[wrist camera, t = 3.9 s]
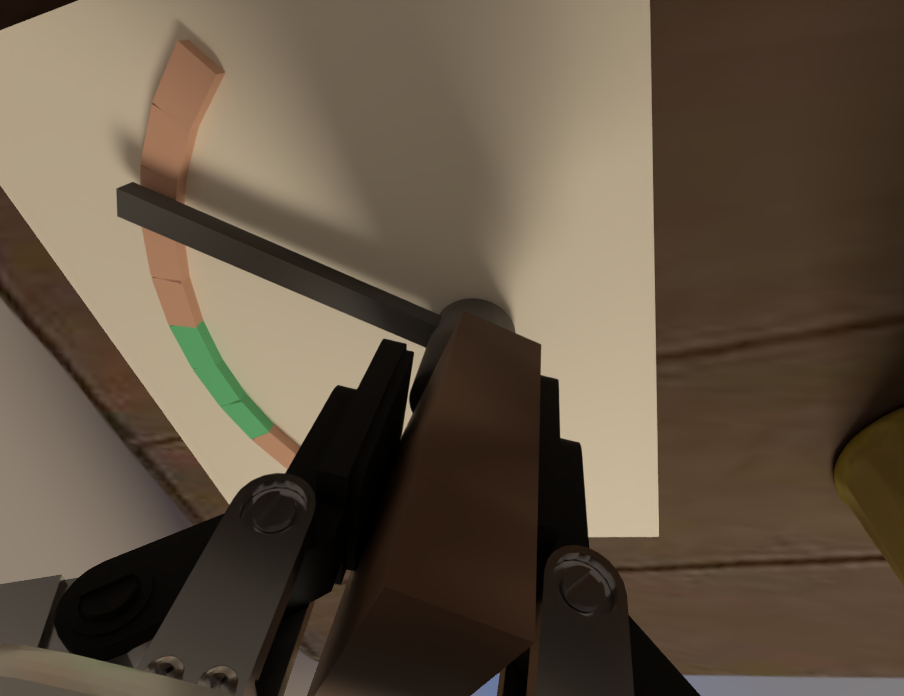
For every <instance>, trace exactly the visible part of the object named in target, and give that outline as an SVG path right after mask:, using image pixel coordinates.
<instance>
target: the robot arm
mask: <svg viewBox="0 0 904 696" xmlns="http://www.w3.org/2000/svg"><path fill="white" fill-rule="evenodd" d="M413 358H414V352H413V351H409V350H407V344H406V343H401V342H397V341H393V340H389V339H383V340H382V341H381V343H380V345H379V347H378V349H377V351H376V353H375V355H374V357H373V359H372V361H371V363H370V365H369V367H368V369H367V371H366V373H365V375H364V376H363V378H362V380H361V382H360V384H359V386H358V388H357V389H353V388H349V387H344V386H340V385H337V386H336V387H335V388H334V389H333V391H332V392H331V394H330V396H329V398H328V399H327V401H326V403H325V405H324V406H323V408H322V410H321V412H320V413H319V415H318V417H317V419H316V420H315V422H314V424H313V426H312V427H311V429H310V431H309V433H308V434H307V436H306V438H305V440H304V441H303V443H302V445H301V447H300V448H299V450H298V452H297V454H296V455H295V457H294V459H293V461H292V462H291V464H290V466H289V468H288V469H287V471H286V473H274V474H268V475H263V476H261V477H259V478H256V479H254V480H252V481H250V482H249V483H248V484H246V485H245V486H244V487H242V488H241V489H240V490H239V492H238V493H237V494H236V496H235V497H234V498H233V500H232V502H231V503H230V505H229V507H228V509H227V510H226V512H225V514H222V515H220V516H217V517H215V518H212V519H210V520H207V521H204V522H202V523H199V524H197V525H194V526H192V527H189V528H187V529H185V530H182V531H179V532H177V533H174V534H172V535H169V536H167V537H164V538H162V539H159V540H157V541H154V542H152V543H149V544H147V545H144V546H142V547H139V548H137V549H134V550H132V551H129V552H127V553H124V554H122V555H119V556H117V557H114V558H112V559H109V560H107V561H104V562H102V563H101V564H99V565H97V566H95V567H93V568H91V569H89V570H88V571H86V572H85V573H84V574H83V575H81V576H80V577H79V578H74V579H68V580H65V579H64V578H63V576H62V575H56V576H50V577H43V578H38V579H31V580H24V581H18V582H12V583H6V584H0V696H283V695H284V692H285V689H286V686H287V683H288V680H289V677H290V674H291V671H292V668H293V665H294V662H295V659H296V656H297V653H298V650H299V647H300V645H301V642H302V639H303V636H304V633H305V630H306V627H307V624H308V621H309V618H310V615H311V612H312V609H313V606H314V602H315V600H316V599H318V598H320V597H322V596H323V595H325V594H327V593H329V592H331V591H332V588H333V585H334V583H336V584H340V585H341V583H342V580H343V577H344V575H345V572H346V569H347V570H350V571H354V572H355V570H356V567H357V565H358V562H359V559H360V556H361V553H362V550H363V547H364V544H365V542H366V539H367V536H368V533H369V530H370V527H371V524H372V521H373V518H374V516H375V513H376V510H377V507H378V504H379V501H380V498H381V495H382V492H383V490H384V487H385V484H386V481H387V478H388V475H389V472H390V469H391V466H392V464H393V461H394V458H395V455H396V452H397V449H398V446H399V443H400V440H401V436H402V431H403V425H404V418H405V411H406V405H407V398H408V391H409V385H410V378H411V371H412V365H413ZM497 696H700V695H699V693H697V692H696V690H695V689H694V688H693V687H692V686H691V684H690V683H689V682H688V681H687V680H686V679H685V678H684V677H683V675H682V674H681V673H680V672H679V671H678V670H677V669H676V668H675V666H674V665H673V664H672V663H671V662H670V661H669V660H668V659H667V658H666V656H665V655H664V654H663V653H662V652H661V651H660V650H659V649H658V647H657V646H656V645H655V644H654V643H653V642H652V641H651V640H650V638H649V637H648V636H647V635H646V634H645V633H644V632H643V631H642V630H641V628H640V627H639V626H638V625H637V624H636V623H635V622H634V621H633V619H632V618H631V617H630V616H629V615H628V604H627V594H626V590H625V585H624V582H623V580H622V579H621V577H620V575H619V573H618V571H617V570H616V569H615V567H614V566H613V565H612V564H611V563H610V562H609V560H607V559H606V558H605V557H603V556H602V555H601V554H599V553H598V552H596V551H594V550H592V549H589V539H588V525H587V512H586V499H585V485H584V472H583V458H582V448H581V445H580V443H579V442H575V441H571V440H567V439H563V438H560V408H559V380H558V379H555V378H551V377H547V376H543V375H541V380H540V427H539V474H538V521H537V568H536V615H535V643H534V644H533V645H532V646H531V647H529V648H528V649H527V650H526V651H524V652H523V653H522V654H521V655H520V656H518V657H517V658H516V659H515V660H513V661H512V662H511V663H510V664H509V665H507V666H506V667H505V668H504V669H502V670H501V671H500V676H499V684H498V692H497Z"/></svg>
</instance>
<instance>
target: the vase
mask: <svg viewBox="0 0 904 696" xmlns="http://www.w3.org/2000/svg"><path fill="white" fill-rule="evenodd" d="M834 482H835V487H836V490H837V493H838V495H839V496H840V499H841V500H842V501H843V502H844V503H845V504H846V505H847V506H848V507H849V508H850V509H851V510H852V512H853V513H854V514H855V516H856V517H857V518H858V520H859V521H860V523H861V524H862V526H863V527H864V529H865V530H866V532H867V533H868V535H869V536H870V538H871V539H872V540H873V542H874V543H875V545H876V546H877V548H878V549H879V550H880V552H881V553H882V555H883V556H884V558H885V559H886V561H887V562H888V564H889V565H890V567H891V568H892V570H893V571H894V573H895V574H896V576H897V577H898V579H899V580H900V582H901V583H902V585H903V586H904V407H902V408H900V409H897V410H895V411H892V412H891V413H889V414H887V415H885V416H883V417H881V418H879V419H878V420H876V421H875V422H873V423H871V424H870V425H868V426H867V427H866V428H864V429H863V430H861V431H860V432H859V433H858V434H857V435H856V436H854V437H853V438H852V439H851V440H850V442H849V443H848V444H847V445H846V447H845V448H844V449H843V451H842V452H841V454H840V456H839V457H838V460H837V462H836V465H835V468H834Z"/></svg>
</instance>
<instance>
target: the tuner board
mask: <svg viewBox="0 0 904 696" xmlns="http://www.w3.org/2000/svg"><path fill="white" fill-rule="evenodd" d="M131 182H134V183H137V184H139V185H141V186H144V187H146V188H148V189H151V190H153V191H155V192H157V193H160V194H162V195H164V196H167V197H169V198H171V199H174V200H176V201H178V202H181V203H183V204H185V205H187V206H190V207H192V208H194V209H197V210H199V211H201V212H204V213H206V214H208V215H211V216H213V217H215V218H217V219H220V220H222V221H224V222H227V223H229V224H231V225H234V226H236V227H238V228H241V229H243V230H245V231H247V232H250V233H252V234H254V235H257V236H259V237H261V238H264V239H266V240H268V241H270V242H273V243H275V244H277V245H280V246H282V247H284V248H287V249H289V250H291V251H294V252H296V253H298V254H300V255H303V256H305V257H307V258H310V259H312V260H314V261H317V262H319V263H321V264H324V265H326V266H328V267H330V268H333V269H335V270H337V271H340V272H342V273H344V274H347V275H349V276H351V277H354V278H356V279H358V280H360V281H363V282H365V283H367V284H370V285H372V286H374V287H377V288H379V289H381V290H384V291H386V292H388V293H390V294H393V295H395V296H397V297H400V298H402V299H404V300H407V301H409V302H411V303H414V304H416V305H418V306H420V307H423V308H425V309H427V310H430V311H432V312H434V313H437V314H440V313H441V311H442V310H443V309H444V308H445V307H447V306H448V305H449V304H451V303H453V302H455V301H458V300H462V299H469V298H475V299H482V300H486V301H489V302H492V303H493V304H495V305H497V306H499V307H500V308H501V309H503V310H504V311H505V312H506V313H507V314H508V316H509V317H510V318H511V320H512V322H513V324H514V327H515V332H516V334H519V335H521V336H523V337H526V338H528V339H530V340H532V341H535V342H537V343H539V344H541V375H543V376H547V377H551V378H555V379H558V380H559V408H560V438H563V439H567V440H571V441H575V442H579V443H580V445H581V448H582V458H583V472H584V485H585V499H586V512H587V525H588V537H659V514H658V455H657V396H656V336H655V277H654V218H653V159H652V100H651V40H650V0H78V1H75V2H73V3H70V4H67V5H65V6H62V7H60V8H57V9H54V10H52V11H49V12H47V13H44V14H41V15H39V16H36V17H34V18H31V19H28V20H26V21H23V22H21V23H18V24H16V25H13V26H10V27H8V28H5V29H3V30H0V186H1V187H2V188H3V190H4V191H5V193H6V194H7V195H8V197H9V198H10V200H11V201H12V202H13V204H14V205H15V206H16V208H17V209H18V211H19V212H20V213H21V215H22V216H23V218H24V219H25V220H26V222H27V223H28V225H29V226H30V227H31V229H32V230H33V232H34V233H35V234H36V236H37V237H38V239H39V240H40V241H41V243H42V244H43V246H44V247H45V248H46V250H47V251H48V252H49V254H50V255H51V257H52V258H53V259H54V261H55V262H56V264H57V265H58V266H59V268H60V269H61V271H62V272H63V273H64V275H65V276H66V278H67V279H68V280H69V282H70V283H71V285H72V286H73V287H74V289H75V290H76V292H77V293H78V294H79V296H80V297H81V298H82V300H83V301H84V303H85V304H86V305H87V307H88V308H89V310H90V311H91V312H92V314H93V315H94V317H95V318H96V319H97V321H98V322H99V324H100V325H101V326H102V328H103V329H104V331H105V332H106V333H107V335H108V336H109V338H110V339H111V340H112V342H113V343H114V344H115V346H116V347H117V349H118V350H119V351H120V353H121V354H122V356H123V357H124V358H125V360H126V361H127V363H128V364H129V365H130V367H131V368H132V370H133V371H134V372H135V374H136V375H137V377H138V378H139V379H140V381H141V382H142V384H143V385H144V386H145V388H146V389H147V390H148V392H149V393H150V395H151V396H152V397H153V399H154V400H155V402H156V403H157V404H158V406H159V407H160V409H161V410H162V411H163V413H164V414H165V416H166V417H167V418H168V420H169V421H170V423H171V424H172V425H173V427H174V428H175V430H176V431H177V432H178V434H179V435H180V436H181V438H182V439H183V441H184V442H185V443H186V445H187V446H188V448H189V449H190V450H191V452H192V453H193V455H194V456H195V457H196V459H197V460H198V462H199V463H200V464H201V466H202V467H203V469H204V470H205V471H206V473H207V474H208V476H209V477H210V478H211V480H212V481H213V482H214V484H215V485H216V487H217V488H218V489H219V491H220V492H221V494H222V495H223V496H224V498H225V499H226V501H227V502H228V503H229V505H230V503H231V502H232V500H233V498H234V497H235V496H236V494H237V493H238V492H239V490H240V489H241V488H242V487H244V486H245V485H246V484H248V483H249V482H250V481H252V480H254V479H256V478H259V477H261V476H263V475H268V474H274V473H286V471H287V469H288V468H289V466H290V464H291V462H292V461H293V459H294V457H295V455H296V454H297V452H298V450H299V448H300V447H301V445H302V443H303V441H304V440H305V438H306V436H307V434H308V433H309V431H310V429H311V427H312V426H313V424H314V422H315V420H316V419H317V417H318V415H319V413H320V412H321V410H322V408H323V406H324V405H325V403H326V401H327V399H328V398H329V396H330V394H331V392H332V391H333V389H334V388H335V387H336V386H337V385H340V386H344V387H349V388H353V389H357V388H358V386H359V384H360V382H361V380H362V378H363V376H364V375H365V373H366V371H367V369H368V367H369V365H370V363H371V361H372V359H373V357H374V355H375V353H376V351H377V349H378V347H379V345H380V343H381V341H382V340H383V339H389V340H393V341H397V342H401V343H406V344H407V350H409V351H413V352H414V358H413V365H412V371H411V378H410V385H409V391H408V398H407V405H406V411H405V418H404V425H403V431H402V434H403V432H404V430H405V428H406V426H407V424H408V422H409V420H410V418H411V416H412V414H413V413H412V411H411V408H410V403H409V395H410V391H411V388H412V385H413V382H414V380H415V377H416V374H417V371H418V369H419V366H420V363H421V360H422V358H423V355H424V352H425V350H426V348H425V347H423V346H420V345H418V344H416V343H413V342H411V341H409V340H406V339H404V338H402V337H399V336H397V335H395V334H392V333H390V332H387V331H385V330H383V329H380V328H378V327H376V326H373V325H371V324H369V323H366V322H364V321H362V320H359V319H357V318H355V317H352V316H350V315H348V314H345V313H343V312H341V311H338V310H336V309H333V308H331V307H329V306H326V305H324V304H322V303H319V302H317V301H315V300H312V299H310V298H308V297H305V296H303V295H301V294H298V293H296V292H294V291H291V290H289V289H286V288H284V287H282V286H279V285H277V284H275V283H272V282H270V281H268V280H265V279H263V278H261V277H258V276H256V275H254V274H251V273H249V272H247V271H244V270H242V269H240V268H237V267H235V266H232V265H230V264H228V263H225V262H223V261H221V260H218V259H216V258H214V257H211V256H209V255H207V254H204V253H202V252H200V251H197V250H195V249H193V248H190V247H188V246H186V245H183V244H181V243H178V242H176V241H174V240H171V239H169V238H167V237H164V236H162V235H160V234H157V233H155V232H153V231H150V230H148V229H146V228H143V227H141V226H139V225H136V224H134V223H132V222H129V221H127V220H124V219H122V218H120V217H117V195H116V188H119V187H121V186H124V185H126V184H129V183H131Z"/></svg>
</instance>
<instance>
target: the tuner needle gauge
mask: <svg viewBox="0 0 904 696" xmlns="http://www.w3.org/2000/svg"><path fill="white" fill-rule="evenodd" d="M116 195H117V217H120V218H122V219H124V220H127V221H129V222H132V223H134V224H136V225H139V226H141V227H143V228H146V229H148V230H150V231H153V232H155V233H157V234H160V235H162V236H164V237H167V238H169V239H171V240H174V241H176V242H178V243H181V244H183V245H186V246H188V247H190V248H193V249H195V250H197V251H200V252H202V253H204V254H207V255H209V256H211V257H214V258H216V259H218V260H221V261H223V262H225V263H228V264H230V265H232V266H235V267H237V268H240V269H242V270H244V271H247V272H249V273H251V274H254V275H256V276H258V277H261V278H263V279H265V280H268V281H270V282H272V283H275V284H277V285H279V286H282V287H284V288H286V289H289V290H291V291H294V292H296V293H298V294H301V295H303V296H305V297H308V298H310V299H312V300H315V301H317V302H319V303H322V304H324V305H326V306H329V307H331V308H333V309H336V310H338V311H341V312H343V313H345V314H348V315H350V316H352V317H355V318H357V319H359V320H362V321H364V322H366V323H369V324H371V325H373V326H376V327H378V328H380V329H383V330H385V331H387V332H390V333H392V334H395V335H397V336H399V337H402V338H404V339H406V340H409V341H411V342H413V343H416V344H418V345H420V346H423V347H425V348H426V350H425V352H424V355H423V358H422V360H421V363H420V366H419V369H418V371H417V374H416V377H415V380H414V382H413V385H412V388H411V391H410V395H409V403H410V408H411V411H412V413H413V414H412V416H411V418H410V420H409V422H408V424H407V426H406V428H405V430H404V432H403V434H402V436H401V440H400V443H399V446H398V449H397V452H396V455H395V458H394V461H393V464H392V466H391V469H390V472H389V475H388V478H387V481H386V484H385V487H384V490H383V492H382V495H381V498H380V501H379V504H378V507H377V510H376V513H375V516H374V518H373V521H372V524H371V527H370V530H369V533H368V536H367V539H366V542H365V544H364V547H363V550H362V553H361V556H360V559H359V562H358V565H357V567H356V570H355V572H354V571H351V573H350V576H349V579H348V582H347V585H346V587H345V590H344V593H343V596H342V599H341V601H340V604H339V607H338V610H337V613H336V616H335V618H334V621H333V624H332V627H331V630H330V633H329V635H328V638H327V641H326V644H325V647H324V650H323V652H322V655H321V658H320V661H319V664H318V667H317V669H316V672H315V675H314V678H313V681H312V683H311V687H310V689H309V692H308V695H307V696H470V695H472V694H473V693H474V692H475V691H477V690H478V689H479V688H480V687H481V686H483V685H484V684H485V683H486V682H488V681H489V680H490V679H491V678H493V677H494V676H495V675H496V674H498V673H499V672H500V671H501V670H502V669H504V668H505V667H506V666H507V665H509V664H510V663H511V662H512V661H513V660H515V659H516V658H517V657H518V656H520V655H521V654H522V653H523V652H524V651H526V650H527V649H528V648H529V647H531V646H532V645H533V644H534V643H535V615H536V568H537V521H538V474H539V427H540V380H541V344H539V343H537V342H535V341H532V340H530V339H528V338H526V337H523V336H521V335H519V334H516V332H515V327H514V324H513V322H512V320H511V318H510V317H509V316H508V314H507V313H506V312H505V311H504V310H503V309H501V308H500V307H499V306H497V305H495V304H493V303H492V302H489V301H486V300H482V299H475V298H469V299H462V300H458V301H455V302H453V303H451V304H449V305H448V306H447V307H445V308H444V309H443V310H442V311H441V313H440V314H437V313H434V312H432V311H430V310H427V309H425V308H423V307H420V306H418V305H416V304H414V303H411V302H409V301H407V300H404V299H402V298H400V297H397V296H395V295H393V294H390V293H388V292H386V291H384V290H381V289H379V288H377V287H374V286H372V285H370V284H367V283H365V282H363V281H360V280H358V279H356V278H354V277H351V276H349V275H347V274H344V273H342V272H340V271H337V270H335V269H333V268H330V267H328V266H326V265H324V264H321V263H319V262H317V261H314V260H312V259H310V258H307V257H305V256H303V255H300V254H298V253H296V252H294V251H291V250H289V249H287V248H284V247H282V246H280V245H277V244H275V243H273V242H270V241H268V240H266V239H264V238H261V237H259V236H257V235H254V234H252V233H250V232H247V231H245V230H243V229H241V228H238V227H236V226H234V225H231V224H229V223H227V222H224V221H222V220H220V219H217V218H215V217H213V216H211V215H208V214H206V213H204V212H201V211H199V210H197V209H194V208H192V207H190V206H187V205H185V204H183V203H181V202H178V201H176V200H174V199H171V198H169V197H167V196H164V195H162V194H160V193H157V192H155V191H153V190H151V189H148V188H146V187H144V186H141V185H139V184H137V183H134V182H131V183H129V184H126V185H124V186H121V187H119V188H116Z"/></svg>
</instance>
